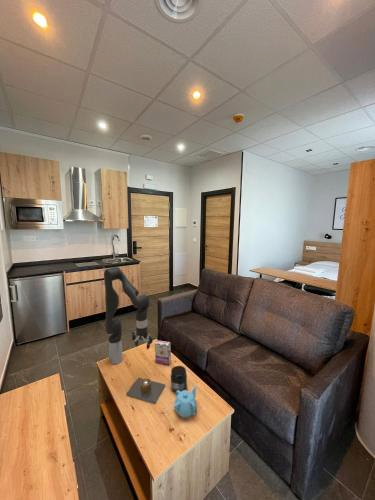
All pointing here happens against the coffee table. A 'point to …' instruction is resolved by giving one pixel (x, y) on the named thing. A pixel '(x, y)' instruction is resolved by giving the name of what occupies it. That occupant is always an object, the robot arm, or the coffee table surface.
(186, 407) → the teapot
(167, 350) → the candy bar box
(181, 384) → the supplement container
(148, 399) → the grey metal plate
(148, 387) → the collar
